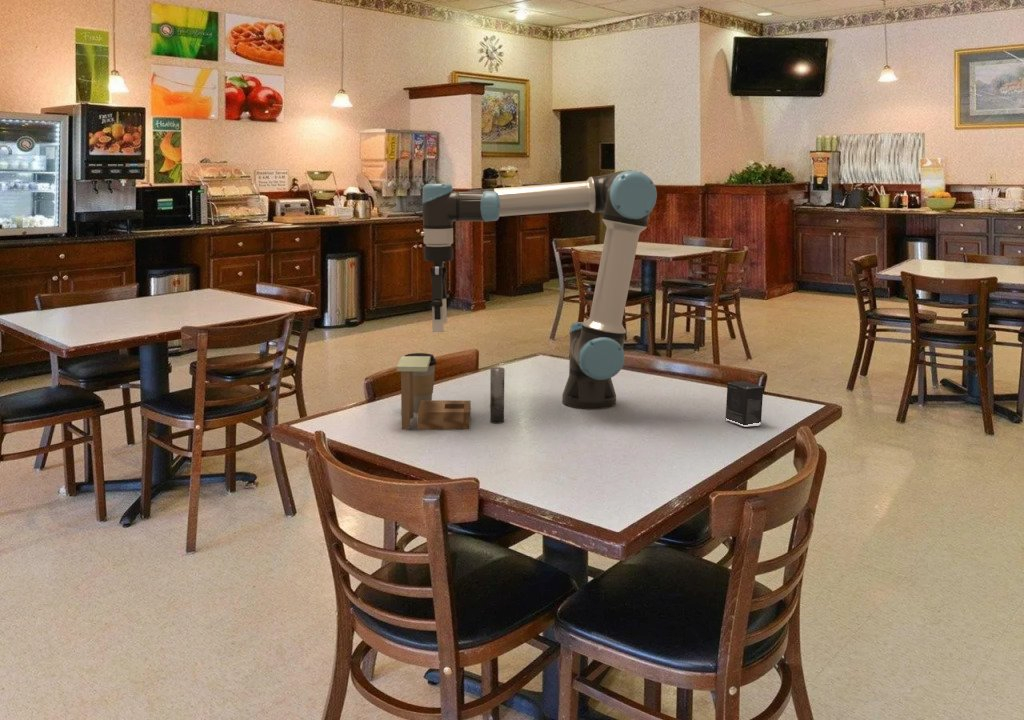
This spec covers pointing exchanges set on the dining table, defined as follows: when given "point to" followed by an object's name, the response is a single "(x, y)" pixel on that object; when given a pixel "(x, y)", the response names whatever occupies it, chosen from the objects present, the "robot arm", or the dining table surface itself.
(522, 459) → the dining table surface
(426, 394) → the coffee cup
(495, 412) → the peg
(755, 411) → the box
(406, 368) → the capped wooden post
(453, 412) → the socket
